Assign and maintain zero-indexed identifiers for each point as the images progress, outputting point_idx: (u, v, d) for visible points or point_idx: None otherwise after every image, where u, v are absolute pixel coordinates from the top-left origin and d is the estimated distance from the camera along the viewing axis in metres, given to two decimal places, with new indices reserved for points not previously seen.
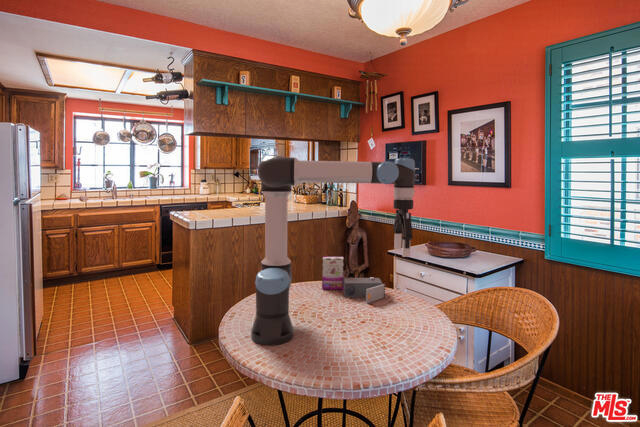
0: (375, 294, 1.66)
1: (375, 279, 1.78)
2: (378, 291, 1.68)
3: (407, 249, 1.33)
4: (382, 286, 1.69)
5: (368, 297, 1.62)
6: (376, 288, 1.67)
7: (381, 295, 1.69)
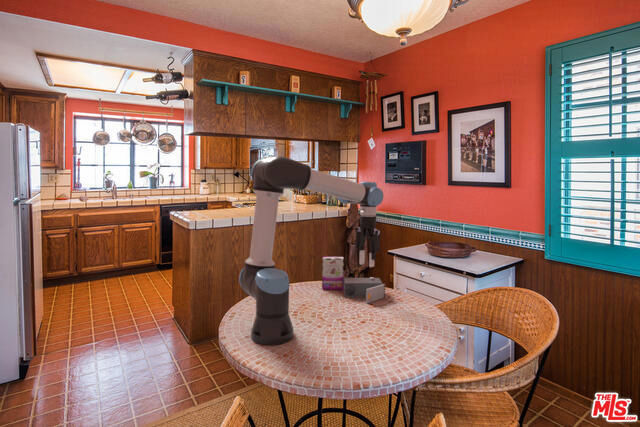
0: (375, 294, 1.66)
1: (375, 279, 1.78)
2: (378, 291, 1.68)
3: None
4: (382, 286, 1.69)
5: (368, 297, 1.62)
6: (376, 288, 1.67)
7: (381, 295, 1.69)
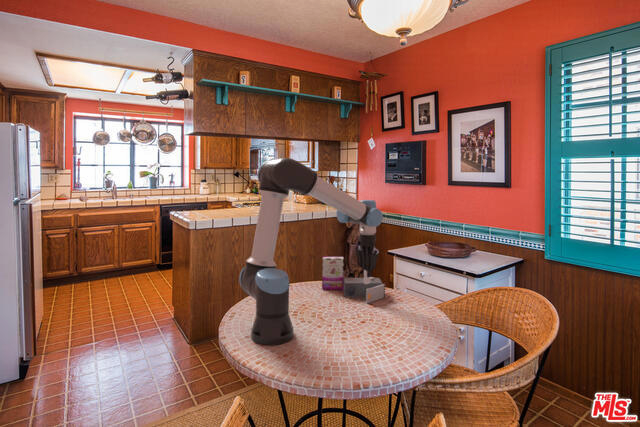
0: (375, 294, 1.66)
1: (375, 279, 1.78)
2: (378, 291, 1.68)
3: None
4: (382, 286, 1.69)
5: (368, 297, 1.62)
6: (376, 288, 1.67)
7: (381, 295, 1.69)
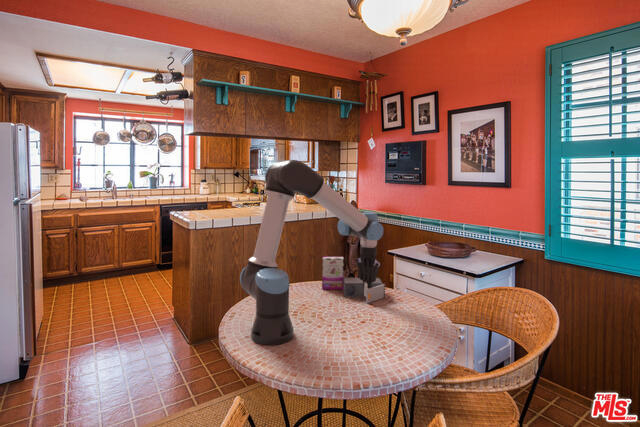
0: (375, 294, 1.66)
1: None
2: (378, 291, 1.68)
3: None
4: (382, 286, 1.69)
5: (368, 297, 1.62)
6: (376, 288, 1.66)
7: (381, 295, 1.69)
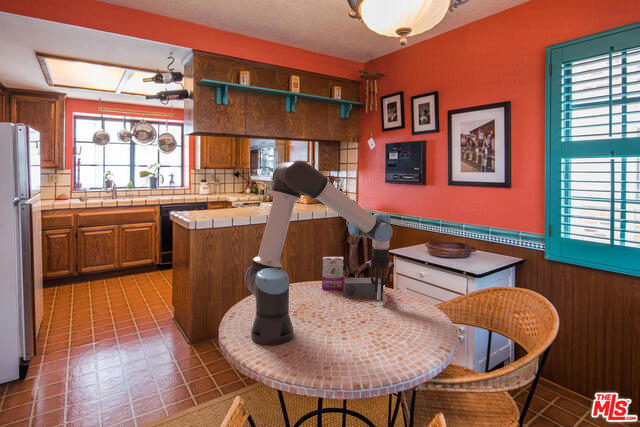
0: None
1: None
2: None
3: (377, 293, 1.62)
4: (384, 286, 1.69)
5: (386, 300, 1.59)
6: None
7: None
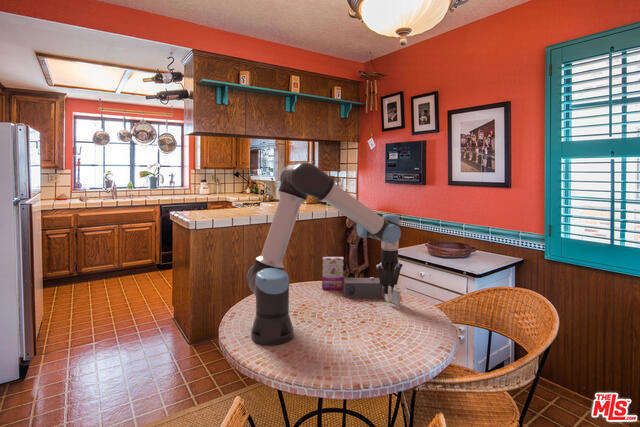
0: None
1: (375, 279, 1.78)
2: None
3: (387, 294, 1.61)
4: None
5: (400, 299, 1.60)
6: None
7: None
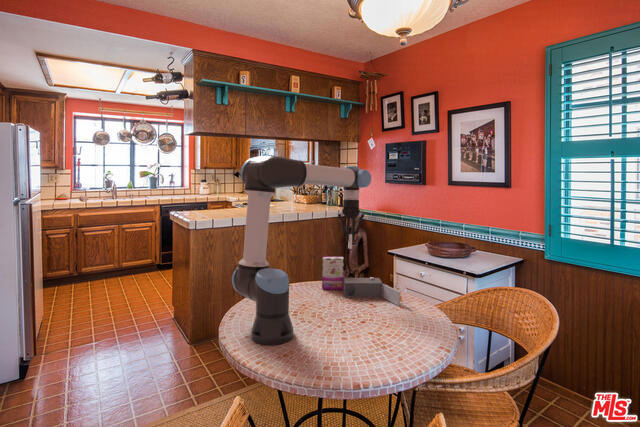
0: None
1: (375, 279, 1.78)
2: None
3: (348, 242, 1.71)
4: None
5: (400, 299, 1.60)
6: None
7: None
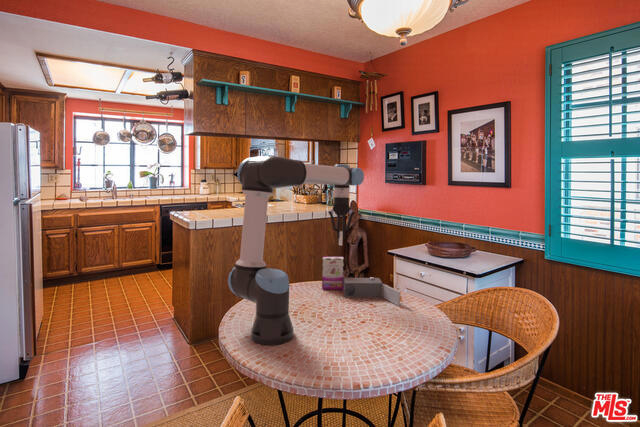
0: None
1: (375, 279, 1.78)
2: None
3: (339, 239, 1.74)
4: None
5: (400, 299, 1.60)
6: None
7: None
